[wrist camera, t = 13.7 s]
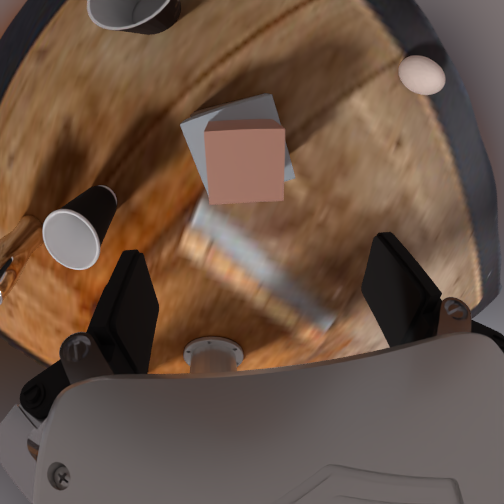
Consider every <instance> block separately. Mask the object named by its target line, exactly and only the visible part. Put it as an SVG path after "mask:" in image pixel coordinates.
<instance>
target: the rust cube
mask: <svg viewBox="0 0 504 504" xmlns="http://www.w3.org/2000/svg"><path fill="white" fill-rule="evenodd" d="M204 142H205V156H206V169H207V181H208V192H209V203H210V205H214V204H229V203H247V202H267V201H283V198H284V167H285V128H284V127H282V126H281V125H280V124H279V123H277V122H276V121H275V120H273V119H242V120H222V121H208V124H207V126H206V128H205V130H204Z"/></svg>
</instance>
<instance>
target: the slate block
mask: <svg viewBox="0 0 504 504" xmlns="http://www.w3.org/2000/svg"><path fill="white" fill-rule="evenodd" d="M242 119H273V120H275V121H276V122H277V123H279V124H280V120H279V117H278V113H277V110H276V107H275V103H274V100H273V97H272V94H268V93H265V94H261V95H257V96H254V97H250V98H247V99H243V100H240V101H237V102H234V103H230V104H227V105H224V106H221V107H218V108H215V109H212V110H210V111H207V112H204V113H201V114H198V115H196V116H193V117H190V118H188V119H185V120H184V121H183V122H182V123H181V124H180V126H181V129H182V131H183V134H184V136H185V139H186V141H187V144H188V146H189V149H190V151H191V154H192V156H193V159H194V161H195V164H196V166H197V169H198V171H199V174H200V176H201V179H202V181H203V184H204V186H205V188H206V191H207V193H208V196H209V192H208V181H207V169H206V156H205V142H204V130H205V128H206V126H207V124H208V121H222V120H242ZM280 125H281V124H280ZM291 179H295V175H294V171H293V167H292V163H291V160H290V156H289V152H288V148H287V145H286V141H285V167H284V181H288V180H291Z"/></svg>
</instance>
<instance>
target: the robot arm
mask: <svg viewBox="0 0 504 504" xmlns="http://www.w3.org/2000/svg"><path fill="white" fill-rule="evenodd" d="M361 289H362V293H363V295H364V297H365V299H366V301H367V303H368V305H369V307H370V309H371V311H372V312H373V314H374V316H375V318H376V320H377V322H378V324H379V326H380V328H381V330H382V332H383V334H384V336H385V338H386V340H387V342H388V344H389V346H390V348H386V349H382V350H377V351H373V352H368V353H363V354H358V355H353V356H348V357H343V358H337V359H332V360H326V361H320V362H313V363H307V364H299V365H292V366H284V367H276V368H266V369H256V370H245V371H237V366H239V365H240V364H241V362H242V361H243V350H242V348H241V347H240V346H239V345H238V344H237V343H235V342H233V341H232V340H229V339H226V338H222V337H202V338H199V339H196V340H193V341H191V342H190V343H188V344H187V345H186V347H185V349H184V354H183V356H184V360H185V361H186V363H187V364H188V365H189V366H190V373H186V374H147V373H148V367H149V361H150V355H151V349H152V344H153V338H154V333H155V328H156V322H157V318H158V313H159V304H158V300H157V297H156V294H155V291H154V288H153V285H152V282H151V278H150V275H149V272H148V268H147V265H146V261H145V258H144V255H143V253H139V251H138V250H125V251H123V252H122V254H121V256H120V258H119V261H118V263H117V265H116V267H115V269H114V271H113V273H112V276H111V278H110V280H109V282H108V284H107V285H106V286H105V288H104V290H103V293H102V295H101V297H100V300H99V302H98V304H97V307H96V309H95V312H94V314H93V317H92V319H91V322H90V324H89V327H88V329H87V332H86V333H85V332H78V333H74V334H72V335H70V336H69V337H68V338H66V339H65V340H64V342H63V343H62V345H61V347H60V351H59V355H60V360H59V361H57V362H56V363H54V364H53V365H52V366H50V367H49V368H47V369H46V370H44V371H43V372H42V373H40V374H38V375H37V376H36V377H34V378H33V379H31V380H30V381H28V382H27V383H26V384H25V385H24V387H23V388H22V391H21V394H20V403H21V404H20V405H19V406H18V405H15V406H14V407H13V408H12V410H11V411H10V412H9V413H8V415H7V416H6V417H5V418H4V420H3V421H2V422H1V424H0V463H1V465H2V466H3V467H4V469H5V470H6V472H7V473H8V475H9V476H10V477H11V479H12V480H13V481H14V483H15V484H16V485H17V487H18V488H19V489H20V490H21V492H22V493H23V494H24V495H25V497H26V498H27V499H28V500H29V501H30V502H31V504H504V336H503V335H502V334H501V333H499V332H497V331H495V330H493V329H491V328H489V327H486V326H484V325H482V324H480V323H478V322H475V321H473V320H471V311H470V309H469V307H468V306H467V305H466V304H465V303H464V302H463V301H461V300H459V299H457V298H454V297H448V298H445V299H444V300H443V301H442V300H441V299H440V297H441V295H442V293H441V291H440V290H439V289H438V287H437V286H436V285H435V284H434V282H433V281H432V280H431V278H430V277H429V276H428V275H427V273H426V272H425V271H424V270H423V268H422V267H421V266H420V265H419V263H418V262H417V261H416V260H415V259H414V257H413V256H412V255H411V254H410V253H409V252H408V250H407V249H406V248H405V247H404V246H403V245H402V243H401V242H400V241H399V240H398V239H397V238H396V237H395V236H394V234H393V233H391V232H382V233H378V234H377V236H375V237H374V238H373V242H372V246H371V251H370V255H369V259H368V263H367V267H366V271H365V275H364V279H363V282H362V287H361Z"/></svg>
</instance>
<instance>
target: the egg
mask: <svg viewBox="0 0 504 504" xmlns="http://www.w3.org/2000/svg"><path fill="white" fill-rule="evenodd" d="M399 77H400V79H401V81H402V83H403V84H404V85H405V86H406V87H407V88H408V89H409V90H411V91H413V92H415V93H418V94H422V95H431V94H434V93H436V92H438V91H440V90H441V89H442V88H443V86H444V84H445V74H444V72H443V70H442V68H441V67H440V66H439V65H438V64H437V63H436V62H434V61H433V60H431V59H429V58H427V57H424V56H409V57H407V58H405V59H404V60H403V61H402V62H401V63H400V66H399Z"/></svg>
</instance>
